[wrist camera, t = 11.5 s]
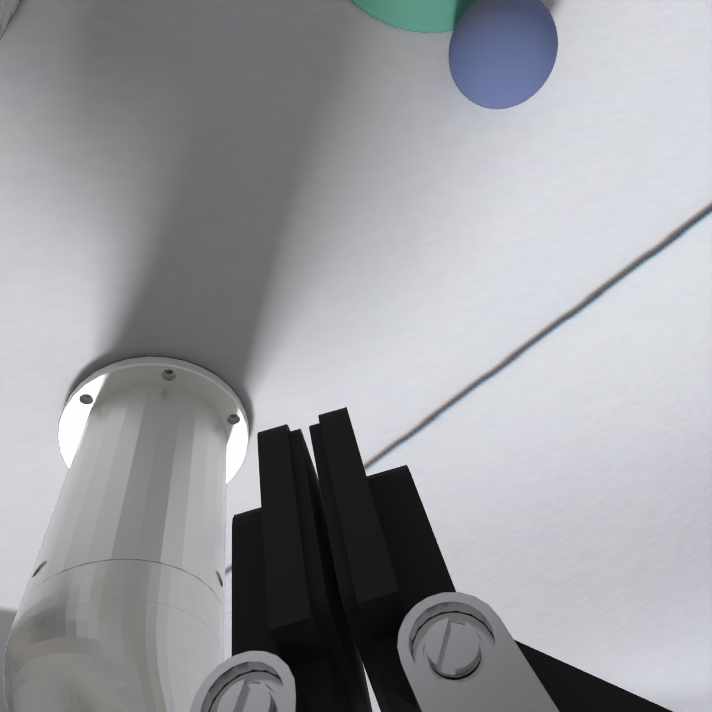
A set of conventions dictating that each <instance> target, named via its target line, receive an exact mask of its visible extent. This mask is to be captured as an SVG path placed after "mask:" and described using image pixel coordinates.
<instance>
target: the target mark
mask: <svg viewBox="0 0 712 712" xmlns="http://www.w3.org/2000/svg"><path fill="white" fill-rule="evenodd" d="M352 1H353V2H354V3H355V4H357V5H358V6H359V7H360V8H361V9H362V10H364V11H366V12H367V13H369V14H370V15H372V16H373V17H375V18H376V19H378V20H380V21H383V22H385V23H387V24H389V25H391V26H394V27H398V28H401V29H405V30H409V31H417V32H444V31H450V30H454V29H455V26H456V24H457V23H458V21H459V19H460V18H461V16H462V15H463V13H464V12H465V11H466V10H467V9H468V8H469V7H470V6H471V5H472V4H473V3H475V2H476V1H477V0H352Z"/></svg>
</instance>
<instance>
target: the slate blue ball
mask: <svg viewBox="0 0 712 712" xmlns="http://www.w3.org/2000/svg"><path fill="white" fill-rule="evenodd" d="M557 49H558V37H557V31H556V26H555V23H554V20H553V18H552V16H551V14H550V12H549V11H548V9H547V8H546V7H545V6H544V5H543V3H541V2H540V1H539V0H477V1H476V2H475V3H473V4H472V5H471V6H470V7H469V8H468V9H467V10H466V11H465V12H464V13H463V15H462V16H461V18H460V19H459V21H458V23H457V24H456V26H455V29H454V31H453V34H452V37H451V40H450V46H449V66H450V71H451V74H452V77H453V79H454V82H455V84H456V86H457V87H458V89H459V90H460V91H461V93H462V94H463V95H464V96H465V97H466V98H468V99H469V100H470V101H472V102H473V103H475V104H477V105H479V106H482V107H485V108H491V109H504V108H509V107H513V106H516V105H518V104H520V103H522V102H524V101H526V100H527V99H529V98H530V97H532V96H533V95H534V94H535V93H536V92H537V91H538V90H539V89H540V88H541V87H542V86H543V84H544V83H545V82H546V80H547V79H548V77H549V75H550V73H551V71H552V69H553V66H554V63H555V60H556V56H557Z"/></svg>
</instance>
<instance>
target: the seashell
mask: <svg viewBox="0 0 712 712" xmlns="http://www.w3.org/2000/svg"><path fill="white" fill-rule="evenodd" d="M19 2H20V0H0V39H1V36H2V34H3V32H4V30H5V28H6V26H7V24H8V22H9V21H10V19H11V17H12V16H13V14H14V12H15V11H16V9H17V7H18V5H19Z"/></svg>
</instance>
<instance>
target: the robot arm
mask: <svg viewBox="0 0 712 712" xmlns="http://www.w3.org/2000/svg"><path fill="white" fill-rule="evenodd" d="M168 370H172V371H168ZM318 417H319V422H320V423H319V424H315V425H312V426H309V429H310V435H311V440H312V446H313V451H314V457H315V462H316V468H317V473H318V478H317V475H316V472H315V469H314V466H313V463H312V460H311V457H310V454H309V451H308V448H307V445H306V442H305V440H304V437H303V434H302V431H301V429H298V430H294V431H291V432H290V429H289V427H288V425H287V424H286V425H283V426H279V427H276V428H272V429H269V430H265V431H262V432H258V437H257V438H258V455H259V473H260V490H261V508H257V509H254V510H250V511H247V512H244V513H240V514H237V515H234V517H233V521H232V657H231V658H229V659H227V660H226V661H224V607H225V536H226V484H227V483H228V482H229V481H230V480H231V479H232V478H233V477H234V476H235V475H236V473H237V472H238V470H239V469H240V467H241V466H242V464H243V462H244V459H245V456H246V454H247V450H248V443H249V425H248V420H247V416H246V412H245V410H244V408H243V405H242V403H241V401H240V399H239V398H238V397H237V395H236V394H235V393H234V391H233V390H232V389H231V388H230V387H229V386H228V385H227V384H226V383H225V382H224V381H222V380H221V379H220V378H219V377H218V376H216V375H214V374H213V373H211V372H209V371H208V370H206V369H204V368H202V367H200V366H197V365H194V364H192V363H189V362H186V361H182V360H177V359H172V358H167V357H140V358H131V359H126V360H123V361H119V362H116V363H112V364H110V365H108V366H106V367H104V368H102V369H100V370H97V371H95V372H94V373H93V374H91V375H90V376H89V377H87V378H86V379H85V380H83V381H82V382H81V383H80V384H79V385H78V386H77V388H76V389H75V390H74V391H73V392H72V393H71V395H70V397H69V399H68V401H67V403H66V405H65V407H64V409H63V412H62V415H61V417H60V420H59V426H58V441H59V447H60V452H61V454H62V456H63V458H64V461H65V463H66V465H67V466H68V467H69V469H68V472H67V475H66V478H65V481H64V483H63V486H62V489H61V492H60V495H59V497H58V500H57V503H56V506H55V509H54V511H53V514H52V517H51V520H50V523H49V525H48V528H47V531H46V534H45V537H44V539H43V542H42V545H41V548H40V550H39V553H38V556H37V559H36V562H35V564H34V567H33V570H32V573H31V576H30V578H29V581H28V584H27V587H26V590H25V592H24V595H23V598H22V601H21V604H20V606H19V609H18V612H17V615H16V617H15V620H14V623H13V626H12V629H11V632H10V635H9V638H8V642H7V646H6V650H5V656H4V667H3V678H4V693H5V699H6V704H7V708H8V712H372V707H371V702H370V697H369V692H368V687H367V682H366V677H365V672H364V667H365V670H366V672H367V675H368V678H369V681H370V683H371V686H372V689H373V691H374V694H375V697H376V699H377V702H378V705H379V707H380V710H381V712H672V711H670V710H668V709H666V708H664V707H661V706H659V705H657V704H655V703H653V702H650V701H648V700H646V699H644V698H641V697H639V696H637V695H635V694H633V693H630V692H628V691H626V690H624V689H622V688H619V687H617V686H615V685H613V684H611V683H608V682H606V681H604V680H602V679H600V678H597V677H595V676H593V675H591V674H588V673H586V672H584V671H582V670H580V669H577V668H575V667H573V666H571V665H569V664H566V663H564V662H562V661H560V660H558V659H555V658H553V657H551V656H549V655H546V654H544V653H542V652H540V651H538V650H535V649H533V648H531V647H529V646H527V645H524V644H522V643H520V642H518V641H516V640H514V639H513V638H512V636H511V635H510V633H509V632H508V630H507V628H506V627H505V625H504V624H503V622H502V621H501V619H500V617H499V616H498V615H497V614H496V613H495V612H494V611H493V609H492V608H491V607H490V606H489V605H488V604H486V603H485V602H483V601H481V600H480V599H478V598H476V597H475V596H471V595H468V594H464V593H460V592H456V591H455V588H454V585H453V583H452V580H451V577H450V575H449V572H448V570H447V567H446V564H445V562H444V559H443V557H442V554H441V551H440V549H439V546H438V544H437V541H436V538H435V536H434V533H433V531H432V528H431V525H430V523H429V520H428V518H427V515H426V512H425V510H424V507H423V504H422V502H421V499H420V497H419V494H418V491H417V489H416V486H415V484H414V481H413V478H412V476H411V473H410V471H409V468H408V467H407V465H405V466H401V467H398V468H394V469H391V470H387V471H384V472H381V473H377V474H374V475H370V476H367V477H366V473H365V470H364V466H363V463H362V459H361V456H360V452H359V449H358V445H357V442H356V438H355V435H354V431H353V428H352V424H351V421H350V417H349V414H348V410H347V407H346V408H342V409H339V410H335V411H332V412H328V413H325V414H321V415H318ZM318 479H319V480H318ZM363 664H364V667H363Z"/></svg>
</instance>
